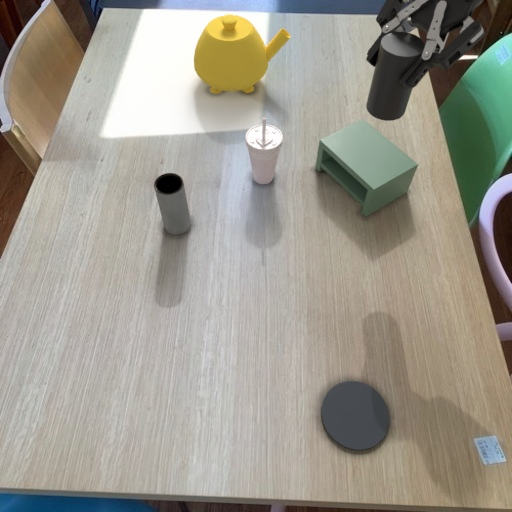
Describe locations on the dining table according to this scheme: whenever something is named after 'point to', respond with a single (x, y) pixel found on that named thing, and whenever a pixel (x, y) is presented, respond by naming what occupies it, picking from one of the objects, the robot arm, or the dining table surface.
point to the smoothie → (263, 150)
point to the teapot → (234, 54)
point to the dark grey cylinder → (393, 75)
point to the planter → (172, 203)
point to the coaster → (355, 415)
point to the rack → (366, 165)
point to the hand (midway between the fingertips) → (386, 74)
